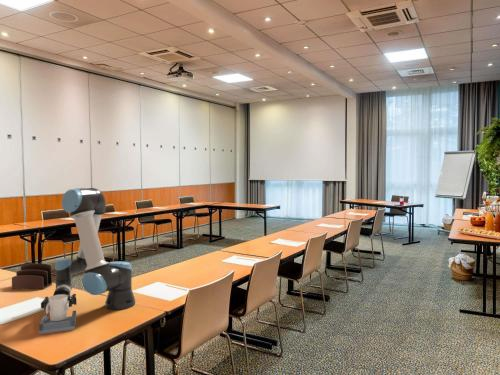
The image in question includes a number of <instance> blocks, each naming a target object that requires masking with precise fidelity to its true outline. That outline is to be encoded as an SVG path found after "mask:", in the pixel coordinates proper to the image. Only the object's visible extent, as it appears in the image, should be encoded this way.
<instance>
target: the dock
mask: <svg viewBox="0 0 500 375" xmlns="http://www.w3.org/2000/svg"><path fill="white" fill-rule="evenodd" d="M71 313H72V314H71V315H69V316H67V317H66V318H65V319H64V320H60V321H51V320H50V318H48V313H45V314H43V315H42V317H41V320H40V322H39V325H38V327H39V328H38V331H39V332H38V334H39V335H44V334H51V333H59V332H66V331H73V330H76V324H77V310H72V312H71Z"/></svg>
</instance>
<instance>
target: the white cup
mask: <svg viewBox="0 0 500 375" xmlns="http://www.w3.org/2000/svg"><path fill="white" fill-rule="evenodd" d="M48 297H49V298H48V299H49V311H48V314H49V319H50V320H51V321H60V320H64V319H65V318H66V317H68V315H67V314H68V311H67V310H66V305H67V300H68V296H67V295H64V294H61V295H54V296H53V295H51V296H48Z"/></svg>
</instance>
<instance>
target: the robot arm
mask: <svg viewBox="0 0 500 375" xmlns="http://www.w3.org/2000/svg"><path fill="white" fill-rule="evenodd" d="M61 206H62V210H64V211H65V213H68V214H69V216H70V218H71V219H72V220H74V223H75V226H76V230H77V233H78V236H79V241H80V243H79V246H78V251H77V255H76V259H72V258H70V257H63V258H59V259H57V260H56V261H55V266H54V269H55V270H54V271H55V289H54V291H53V294H52V296H54V295H61V294H64V295H67V296H68V300H67V305H66V310H67V312H69V310H70V308H71V307H72V306H73V305H74V306H76V305H77V293H73V294H72V295H71V292H72V290H73V283H72V279H73V278H72V275H76V274H80V273H83V272H85V274H84V275H83V277H82V281H81V282H82V287H83V289H84V290H85V292H87V293H89V295H92V296H99V295H102V294H105V293H107V292H108V293H107V296H106V298H105V299H106V300H105V308H106V309H107V310H108V309H109V310H125V309H129V308H131V307H133V306H135V305H136V298H135V295H134V292H133V287H132V285H133V284H132V281H133V280H132V279H133V278H132V276H133V275H132V274H133V273H132V264H131V263H130V262H129V261H116V260H115V261H110V262H109V261H106V259H105V257H104V252H103V248H102V245H101V241H100V237H99V235H98V234H99V228H100V225H101V224H100V223H101V221H102V216H104V215H105V212H106V208H107V207H106V206H107V201H106V198H105V195H104V193H103V192H102V191H101V190H100V189H98V188H94V187H87V188H86V187H84V188H83V187H81V188H78V187H76V188H72V189H68V190H66V191H65V192H64V193H63V196H62V198H61ZM49 297H50V296H45V297H44V299H43V300H42V301H41V302H40V309H43V310H45V314H49V299H48V298H49Z"/></svg>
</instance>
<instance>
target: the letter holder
mask: <svg viewBox="0 0 500 375" xmlns="http://www.w3.org/2000/svg"><path fill="white" fill-rule="evenodd" d="M52 274H53V272H52V265H51V264H48V263H41V262H40V263H39V262H38V263H36V262H35V263H24V264H21V265H20V269H19V270H17V271H16V273H15V275H14V276H12V277H11V290H45V289H47V288H49V287H50V286H52V285H53V278H52V277H53V276H52Z"/></svg>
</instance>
